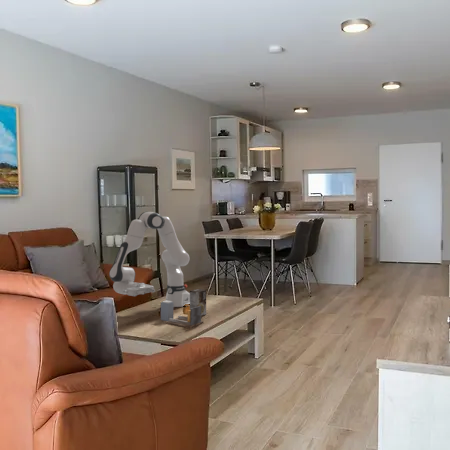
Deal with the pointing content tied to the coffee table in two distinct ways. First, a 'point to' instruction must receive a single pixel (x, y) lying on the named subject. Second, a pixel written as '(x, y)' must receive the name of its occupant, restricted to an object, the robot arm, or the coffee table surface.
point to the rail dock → (184, 320)
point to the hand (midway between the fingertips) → (149, 291)
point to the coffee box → (198, 299)
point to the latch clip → (189, 315)
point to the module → (166, 310)
